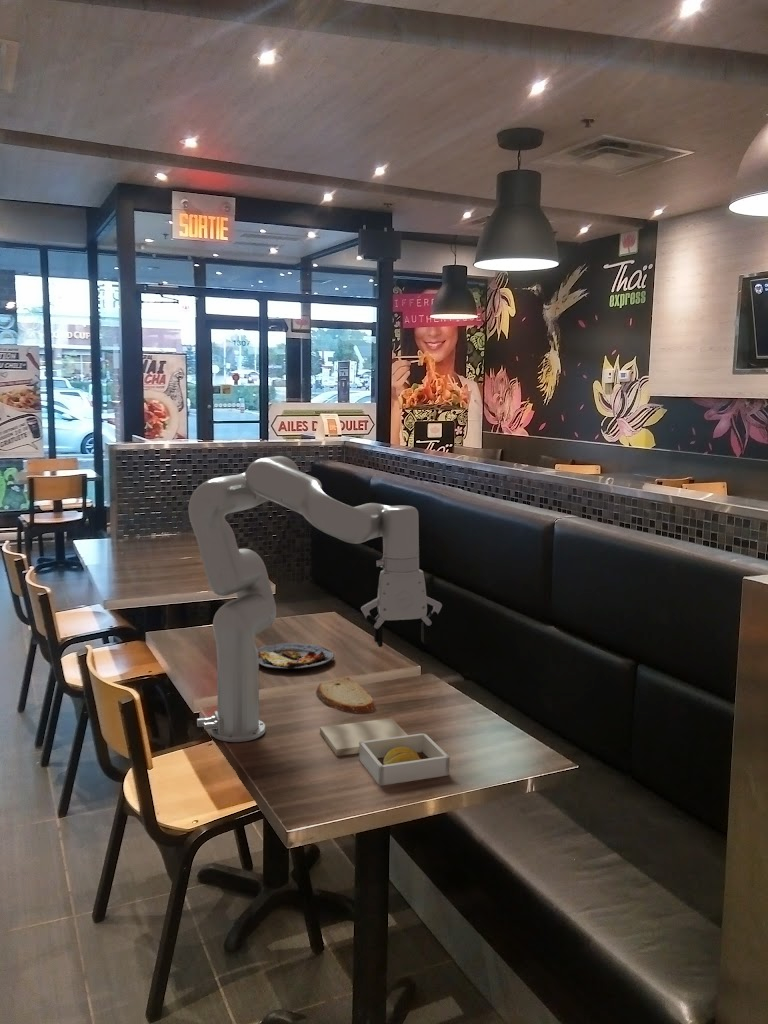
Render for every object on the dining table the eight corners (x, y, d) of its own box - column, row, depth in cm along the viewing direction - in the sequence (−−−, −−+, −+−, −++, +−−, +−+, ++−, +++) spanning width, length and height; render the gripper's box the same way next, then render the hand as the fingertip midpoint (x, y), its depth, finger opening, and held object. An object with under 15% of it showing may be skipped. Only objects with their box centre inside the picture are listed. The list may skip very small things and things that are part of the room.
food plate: (347, 665, 243) (347, 653, 242) (276, 680, 230) (276, 668, 229) (306, 645, 263) (306, 635, 263) (238, 658, 250) (238, 647, 250)
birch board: (336, 756, 182) (336, 749, 182) (320, 733, 194) (320, 727, 194) (412, 745, 189) (412, 739, 188) (391, 724, 201) (391, 718, 201)
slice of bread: (373, 715, 207) (373, 701, 206) (303, 708, 210) (304, 694, 210) (387, 691, 224) (387, 677, 223) (323, 685, 228) (323, 672, 227)
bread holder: (379, 785, 169) (380, 767, 168) (358, 759, 181) (359, 741, 181) (449, 775, 174) (449, 757, 174) (424, 749, 187) (424, 733, 186)
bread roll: (415, 757, 183) (416, 740, 183) (426, 775, 175) (427, 757, 174) (379, 760, 181) (379, 742, 181) (388, 778, 173) (388, 760, 172)
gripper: (362, 570, 169) (364, 651, 171) (445, 566, 172) (445, 646, 174) (358, 563, 176) (359, 641, 178) (437, 559, 179) (437, 636, 181)
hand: (402, 643), depth 176 cm, fingers open, 9 cm apart
